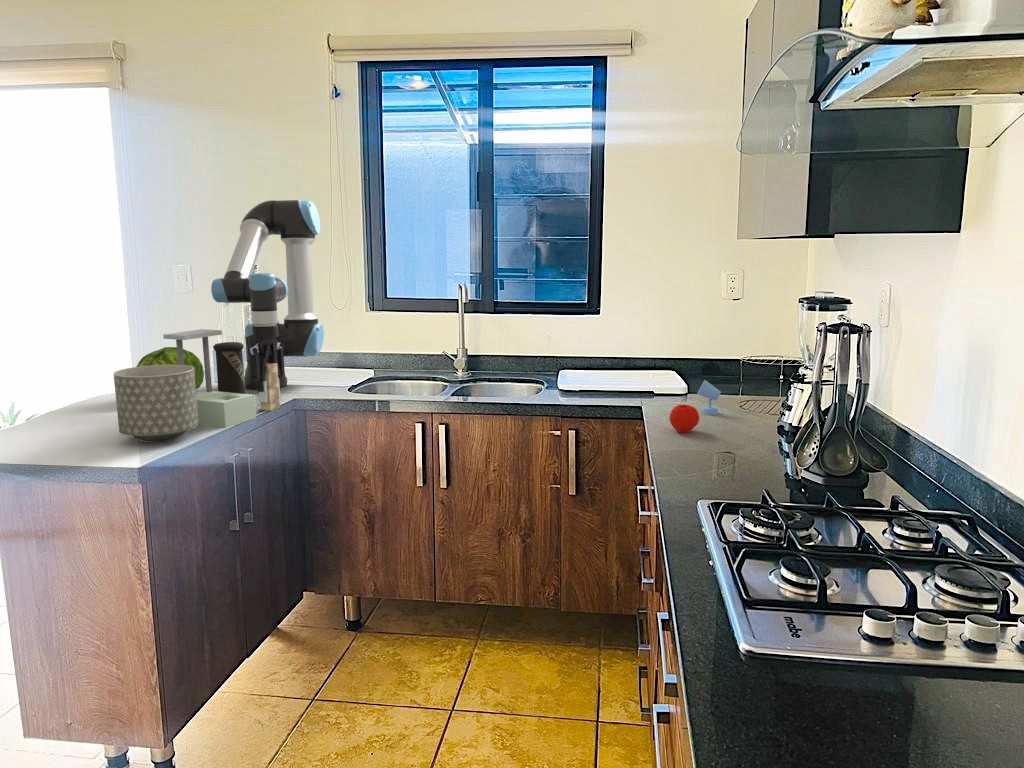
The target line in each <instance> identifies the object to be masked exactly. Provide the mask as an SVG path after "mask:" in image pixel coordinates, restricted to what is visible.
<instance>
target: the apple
mask: <svg viewBox="0 0 1024 768" xmlns="http://www.w3.org/2000/svg"><path fill="white" fill-rule="evenodd" d="M668 419H669V423H670V425H671V426H672V427H673V429H674V430H675V431H676V432H678V433H682V434H686V433H689V432H691V431H692V430H693V429H694V428H695V427H696V426H697V425H698V424H699V422H700V414H699V412H698V410H697V408H696V407H695V406H692V405H691V404H690V405H689V404H678V405H675V406H674V407H673V408H671V411H670V413H669V418H668Z"/></svg>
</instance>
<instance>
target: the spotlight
mask: <svg viewBox="0 0 1024 768" xmlns="http://www.w3.org/2000/svg"><path fill="white" fill-rule="evenodd" d="M721 393H722V391H721V390H719V389H718V388H716V387H715V386H714V385H713V384H711V383H710V382H708V381H707V380H706V379H704V380H703V381H702V383H701V385H700V387H699V389H698V391H697V394H696V395H698V396H701V397H703V398H707V399H708V406H707V405H705V406H702V407H701V414H702V415H706V416H716V415H718V412H719V411H718V409H719V408H718V407H716V406H712V400H713V401H717V400H718V399H719V397H720V395H721Z"/></svg>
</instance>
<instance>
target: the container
mask: <svg viewBox="0 0 1024 768" xmlns="http://www.w3.org/2000/svg"><path fill="white" fill-rule="evenodd" d="M244 346H245V345H244V344H243V343H242V342H239V341H237V342H236V341H226V342H217V343H215V344H214V345H213V347H212V348H213V351H215V361H216V378H217V391H219V392H229V393H240V394H247V392H246V390H247V389H246V388H245V379H244V377H245V370H244V358H243V356H244V355H243V349H244Z"/></svg>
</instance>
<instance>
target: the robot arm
mask: <svg viewBox="0 0 1024 768" xmlns="http://www.w3.org/2000/svg"><path fill="white" fill-rule="evenodd" d="M320 221H321V220H320V216H319V212H318V210H317V206H316V205H315V204H314V203H313V202H312V201H311V200H306V199H305V200H303V199H296V200H295V199H291V200H290V199H289V200H274V199H273V200H272V199H270V200H266V201H263V202H260V203H258V204H257V205H255V206H254V207H252V208H251V209H250V210H249V211H248V212H247V213H246V214H245V216H244V217H243V218H242V220H241V223H240V226H239V232H240V235H239V237H238V240H237V242H236V244H235V247H234V250H233V253H232V256H231V257H230V261H229V263H228V265H227V269H226V272H225V274H224V276H223V277H219V278H215V279H213V280H212V282H211V285H210V286H211V289H210V291H211V296H212V299H213V300H214V302H216V303H222V304H223V303H226V304H239V303H240V304H245V303H250V310H251V312H250V313H251V322H250V323H248V324H246V325H245V327H244V328H245V329H244V332H245V333H244V341H245V352H246V368H245V371H244V379H245V389H246V390H247V389H248V390H257V392H258V401H259V403H260V402H265V403H267V402H268V396H267V381H264V379H265V370H266V363H277V368H278V385H279V400H280V399H281V391H280V390H281V389H280V388H283V387H287V386H288V385H287V383H288V377H287V376H286V374H285V373H286V372H285V357H288V358H291V357H292V358H293V357H297V358H298V357H304V358H307V357H316V356H318V355H319V354H320V352H321V350H322V347H323V343H324V336H325V334H324V333H325V331H324V324H322V323H320V322H319V319H318V317H317V315H315V313H314V298H313V297H314V295H313V294H314V293H313V270H312V269H313V268H312V267H313V264H312V245H313V243H314V242H315V241H316V236H317V235H319V234H320V233H321V222H320ZM271 235H275V236H277V235H280V241H281V242H282V243H283V244H284V245H285V262H286V264H285V266H286V267H285V269H286V281H285V280H283V279H282V278H281V277H280V278H279V277H276V276H275V274H274V273H271V272H260V273H259V272H256V273H253V271H254V269H255V266H256V263H257V260H258V257H259V254H260V253H261V249H262V246H263V243H264V242H266V241H267V240H268V238H269V236H271ZM285 298H287V315H286V316H285V317H284V318H283V323H280V321H279V317H278V316H279V315H278V305H277V303H280V302H281V301H283V300H285ZM260 376H261V377H260Z"/></svg>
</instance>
